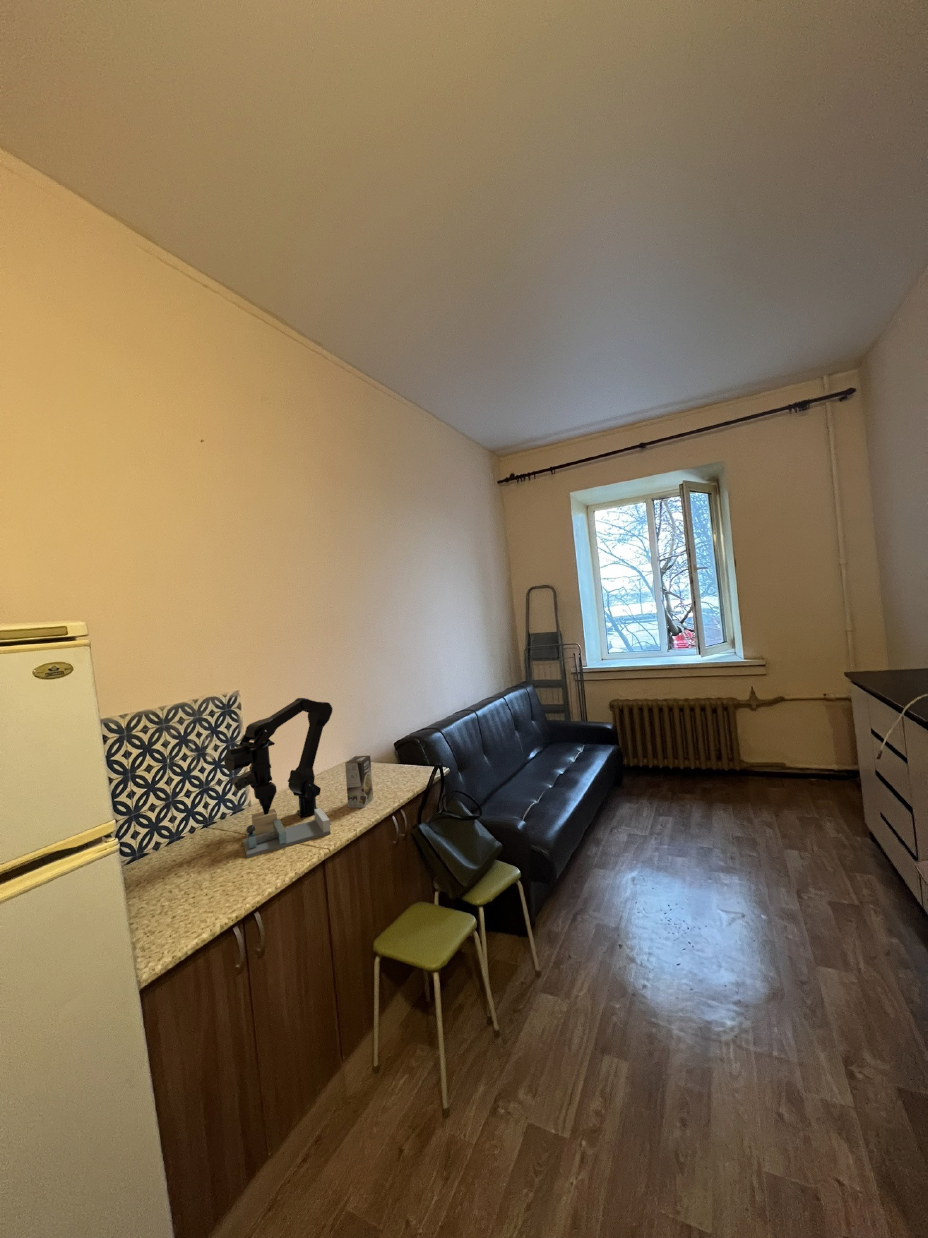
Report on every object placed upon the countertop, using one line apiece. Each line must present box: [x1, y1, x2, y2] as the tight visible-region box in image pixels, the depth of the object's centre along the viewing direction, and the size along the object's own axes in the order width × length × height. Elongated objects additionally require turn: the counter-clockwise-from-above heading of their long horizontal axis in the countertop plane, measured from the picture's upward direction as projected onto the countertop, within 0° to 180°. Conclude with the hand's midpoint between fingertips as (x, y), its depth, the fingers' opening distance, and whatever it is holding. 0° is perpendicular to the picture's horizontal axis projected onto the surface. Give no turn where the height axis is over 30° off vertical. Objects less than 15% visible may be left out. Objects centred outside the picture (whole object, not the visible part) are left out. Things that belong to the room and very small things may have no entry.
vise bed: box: [242, 807, 331, 859], centre depth 149 cm, size 12×24×4 cm, turn 120°
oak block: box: [251, 808, 278, 836], centre depth 156 cm, size 5×7×6 cm
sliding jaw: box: [246, 818, 287, 848], centre depth 146 cm, size 12×10×6 cm
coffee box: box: [344, 755, 374, 809], centre depth 175 cm, size 9×6×16 cm
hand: (264, 809), depth 156 cm, fingers open, 9 cm apart
